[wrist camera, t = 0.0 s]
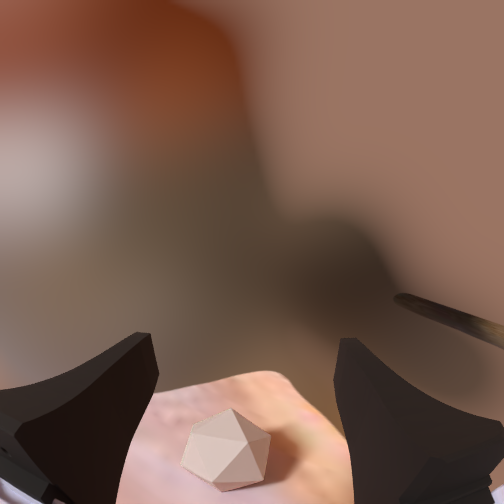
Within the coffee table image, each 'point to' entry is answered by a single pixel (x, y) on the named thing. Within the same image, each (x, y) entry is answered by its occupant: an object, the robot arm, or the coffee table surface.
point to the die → (227, 451)
